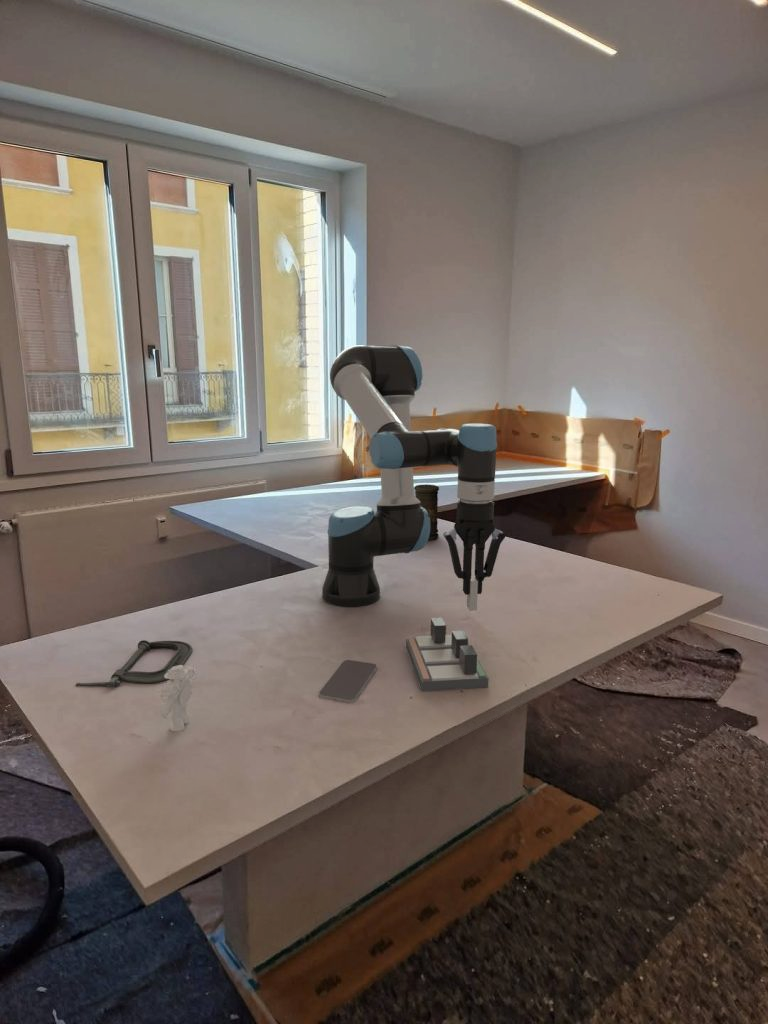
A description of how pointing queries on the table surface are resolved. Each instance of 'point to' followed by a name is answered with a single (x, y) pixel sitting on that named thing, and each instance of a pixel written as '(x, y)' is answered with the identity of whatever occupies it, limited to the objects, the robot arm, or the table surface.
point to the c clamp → (147, 677)
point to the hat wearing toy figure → (178, 695)
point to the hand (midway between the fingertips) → (471, 607)
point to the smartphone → (348, 681)
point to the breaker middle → (458, 642)
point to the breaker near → (468, 659)
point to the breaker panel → (441, 666)
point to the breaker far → (438, 630)
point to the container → (429, 505)
